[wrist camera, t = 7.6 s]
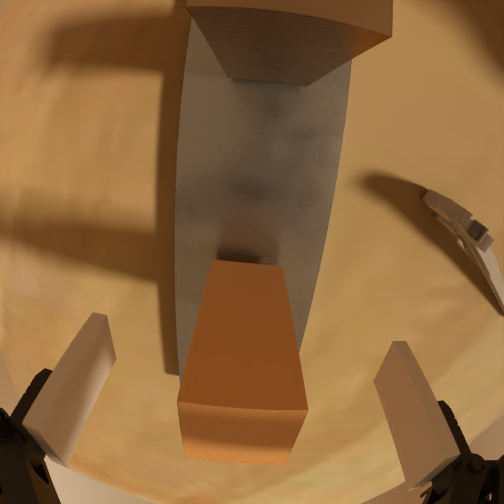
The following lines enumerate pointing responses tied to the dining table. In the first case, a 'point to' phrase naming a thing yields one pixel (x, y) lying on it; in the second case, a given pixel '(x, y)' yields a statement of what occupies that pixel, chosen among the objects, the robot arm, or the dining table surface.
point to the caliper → (469, 238)
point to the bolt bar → (263, 139)
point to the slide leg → (242, 369)
